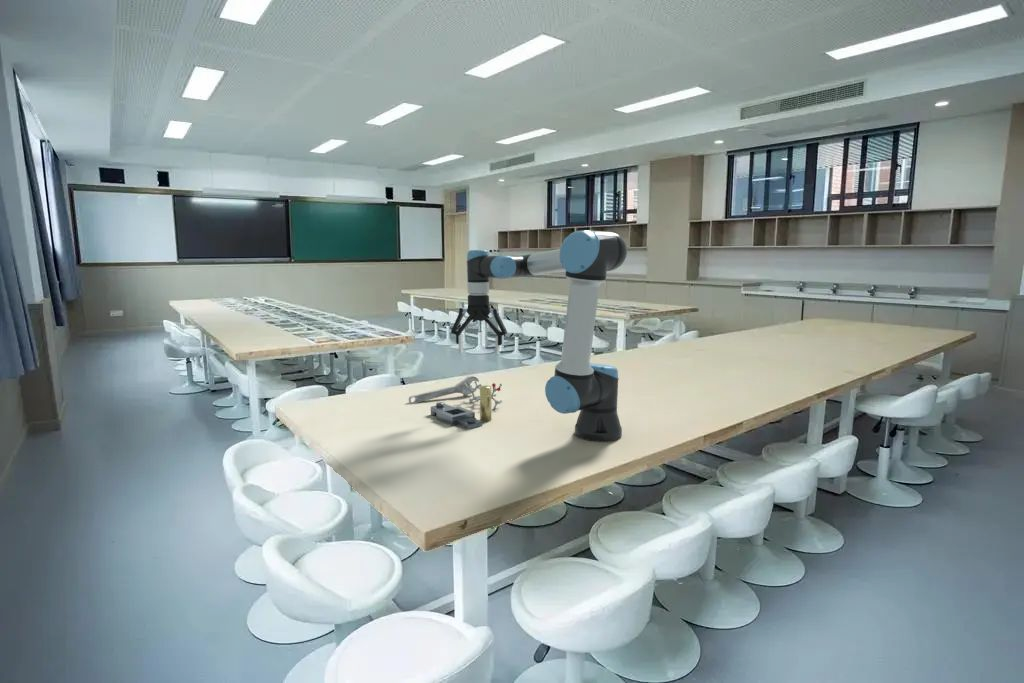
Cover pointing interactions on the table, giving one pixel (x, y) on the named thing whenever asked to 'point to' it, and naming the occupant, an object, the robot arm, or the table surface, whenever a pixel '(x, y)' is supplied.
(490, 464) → the table surface
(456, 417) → the link plate
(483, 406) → the pin
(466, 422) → the link plate
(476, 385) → the molecular model
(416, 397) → the wrench
